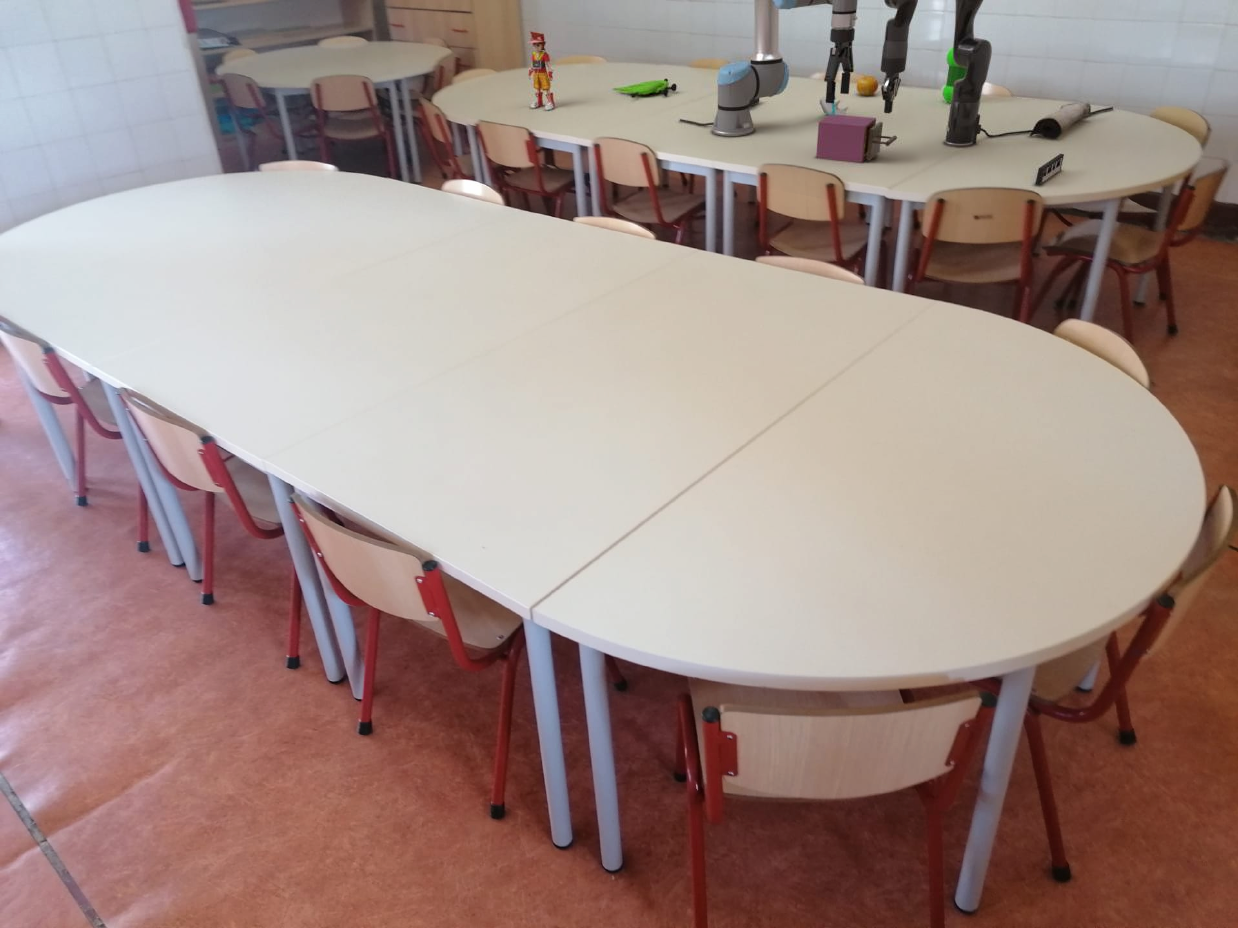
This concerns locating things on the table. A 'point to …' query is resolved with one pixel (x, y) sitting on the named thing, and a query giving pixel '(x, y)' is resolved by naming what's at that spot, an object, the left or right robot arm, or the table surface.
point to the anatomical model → (832, 107)
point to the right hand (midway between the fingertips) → (887, 112)
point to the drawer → (875, 140)
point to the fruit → (867, 85)
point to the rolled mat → (1061, 120)
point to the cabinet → (842, 137)
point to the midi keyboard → (1049, 169)
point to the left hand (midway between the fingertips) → (837, 98)
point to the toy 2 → (648, 88)
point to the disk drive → (753, 102)
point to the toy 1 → (541, 71)
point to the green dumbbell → (952, 76)
